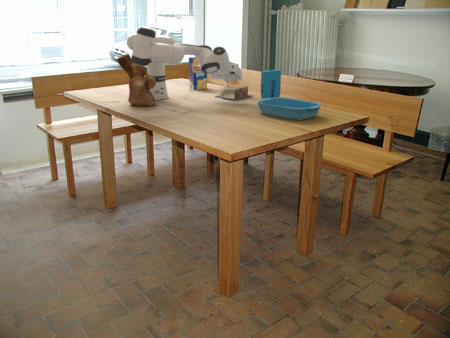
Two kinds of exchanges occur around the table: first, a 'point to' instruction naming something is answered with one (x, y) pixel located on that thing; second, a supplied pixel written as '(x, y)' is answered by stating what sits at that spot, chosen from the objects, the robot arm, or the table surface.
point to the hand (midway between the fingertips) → (228, 81)
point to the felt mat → (236, 98)
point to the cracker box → (196, 75)
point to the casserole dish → (289, 108)
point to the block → (270, 83)
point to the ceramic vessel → (138, 82)
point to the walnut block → (234, 91)
